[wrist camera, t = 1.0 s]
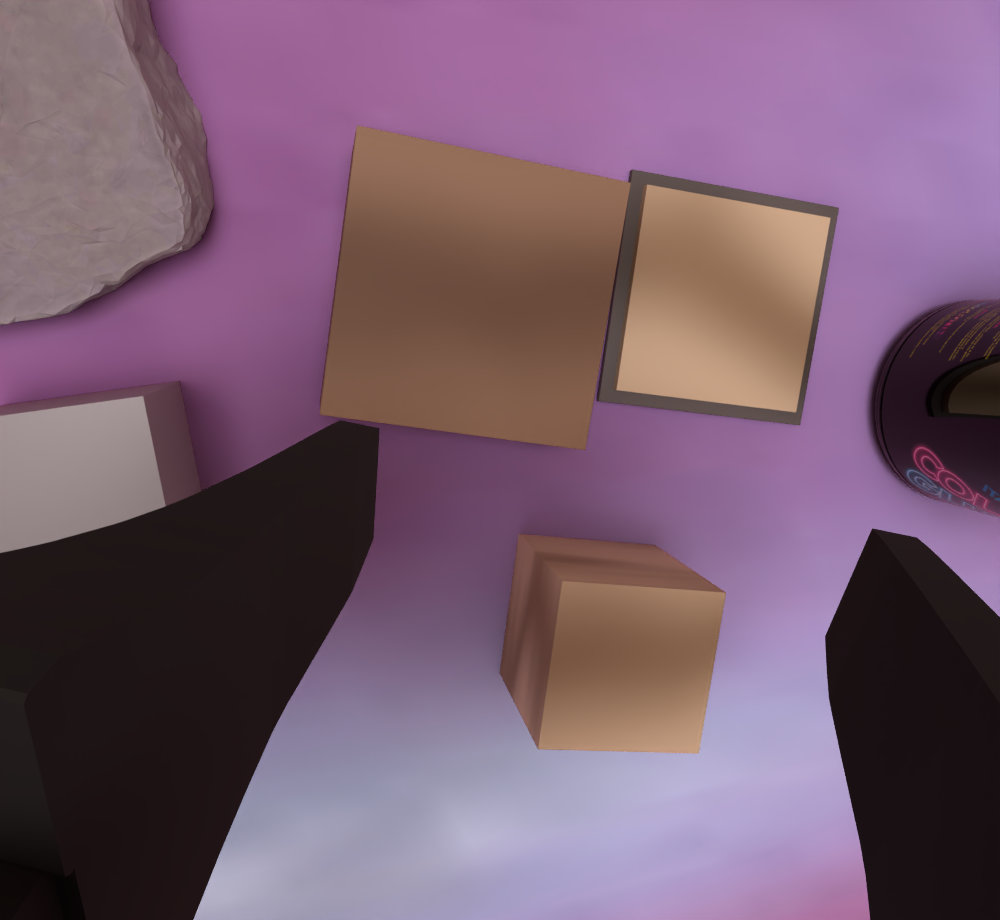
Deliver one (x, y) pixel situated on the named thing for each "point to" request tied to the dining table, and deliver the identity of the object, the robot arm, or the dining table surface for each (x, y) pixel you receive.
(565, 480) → the dining table surface
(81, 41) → the stone block
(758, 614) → the dining table surface
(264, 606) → the robot arm
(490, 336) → the walnut block
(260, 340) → the dining table surface
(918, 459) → the supplement container
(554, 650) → the maple block
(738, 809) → the dining table surface
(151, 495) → the slate block
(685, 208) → the tile
